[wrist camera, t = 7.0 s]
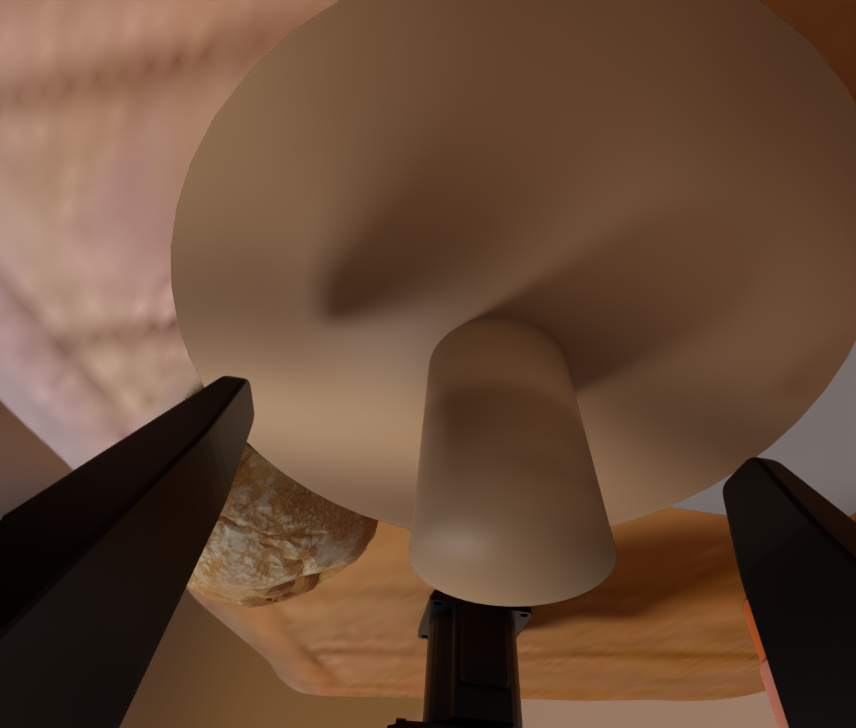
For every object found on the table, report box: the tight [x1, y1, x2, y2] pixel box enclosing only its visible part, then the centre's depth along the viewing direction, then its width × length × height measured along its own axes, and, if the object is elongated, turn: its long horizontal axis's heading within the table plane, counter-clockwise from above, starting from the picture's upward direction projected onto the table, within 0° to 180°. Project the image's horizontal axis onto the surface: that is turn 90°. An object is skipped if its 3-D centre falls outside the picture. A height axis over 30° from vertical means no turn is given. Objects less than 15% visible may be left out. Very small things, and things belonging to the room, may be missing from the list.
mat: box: [669, 341, 856, 517], centre depth 17 cm, size 13×13×1 cm
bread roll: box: [187, 442, 378, 608], centre depth 19 cm, size 10×10×8 cm
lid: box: [171, 0, 856, 606], centre depth 8 cm, size 13×13×5 cm
